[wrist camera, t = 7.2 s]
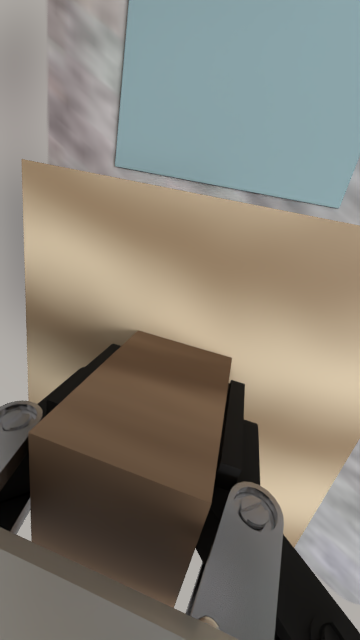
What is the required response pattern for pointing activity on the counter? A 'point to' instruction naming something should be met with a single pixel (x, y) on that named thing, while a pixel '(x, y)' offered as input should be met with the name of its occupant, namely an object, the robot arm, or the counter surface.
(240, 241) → the lid
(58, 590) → the robot arm
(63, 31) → the counter surface
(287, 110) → the mat
